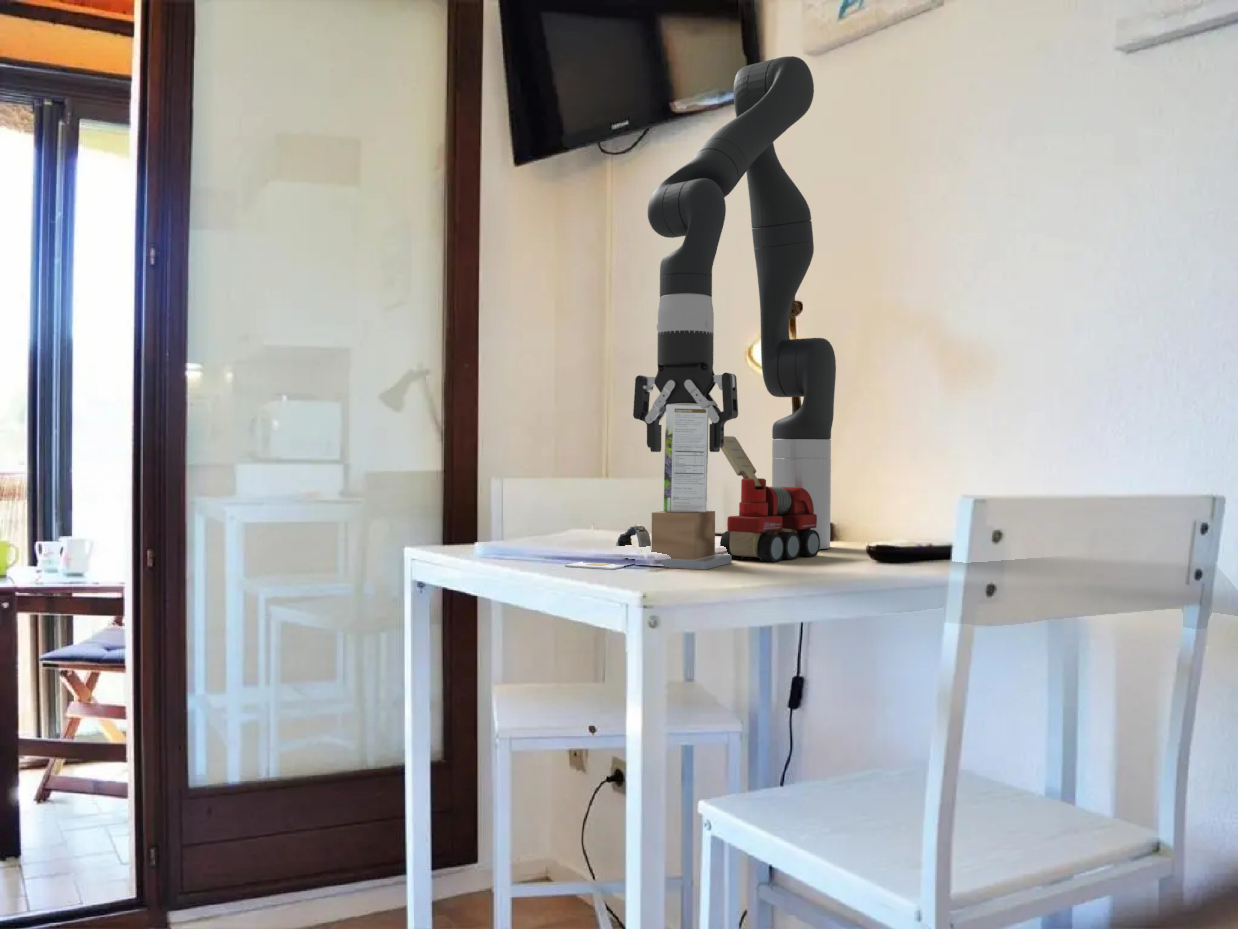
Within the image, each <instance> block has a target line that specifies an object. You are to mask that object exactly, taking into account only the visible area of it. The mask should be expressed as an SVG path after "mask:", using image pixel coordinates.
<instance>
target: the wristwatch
mask: <svg viewBox="0 0 1238 929" xmlns="http://www.w3.org/2000/svg"><path fill="white" fill-rule="evenodd" d="M633 536H636V537H637V543H638V548H639V547H646V546H650V547H652V539H651V536H650V533H649V531H648V530H647V529H646V527H645V526H644V525H634V526H630V527H629V528H628V529H627V530H626V531H625V532H624V533H620V534H619V536H618V538H617V541H616V543H615V547H616V546H625V545H633V543H632V540H633V539H632V537H633Z"/></svg>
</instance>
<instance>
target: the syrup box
mask: <svg viewBox="0 0 1238 929" xmlns="http://www.w3.org/2000/svg"><path fill="white" fill-rule="evenodd" d="M699 405H701V404H691V403H677V404H667V405H666V414H665V433H664V434H665V435H664V436H665V437H664V456H663V457H664V463H663V464H664V465H663V466H664V468H663V470H664V471H663V473H664V474H663V475H664V476H663V478H664V479H663V511H664V512H706V511H707V500H708V498H707V496H708V493H707V491H708V463H709V461H708V460H709V459H708V458H709V457H708V456H709V455H708V454H709V417H708V408H705V409H702V408H701V406H699Z"/></svg>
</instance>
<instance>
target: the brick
mask: <svg viewBox="0 0 1238 929" xmlns="http://www.w3.org/2000/svg"><path fill="white" fill-rule="evenodd" d="M715 551H716V510H706V512H664V510H663V511H653V512H651V552H657V553H662V554H667V555H669V556H670V557H671V559H684V560H696V559H700V558H704V557H708V556H712V555H716V552H715Z"/></svg>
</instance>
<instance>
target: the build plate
mask: <svg viewBox="0 0 1238 929" xmlns="http://www.w3.org/2000/svg"><path fill="white" fill-rule="evenodd" d="M732 561H733V559H732V555H722V554H715V555H712V556H708V557H704V558H700V559H696V560H684V559H666V560H662V561H661V564H662V565H664V566H666V567H665V568H667V567H668V568H671V569H673V568H674V569H686V570H687V569H688V570H703V571H705V570H710V569H714V568H717V567H721V566H725V565H728V564H731V563H732Z"/></svg>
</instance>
